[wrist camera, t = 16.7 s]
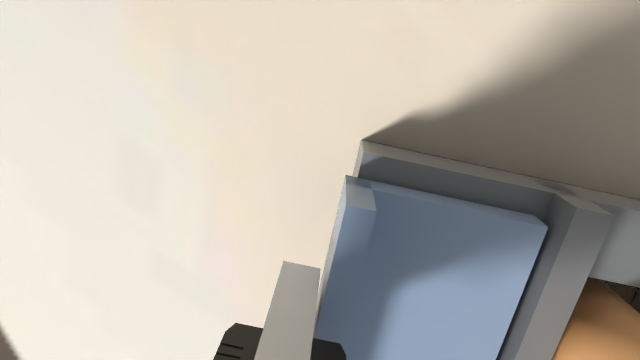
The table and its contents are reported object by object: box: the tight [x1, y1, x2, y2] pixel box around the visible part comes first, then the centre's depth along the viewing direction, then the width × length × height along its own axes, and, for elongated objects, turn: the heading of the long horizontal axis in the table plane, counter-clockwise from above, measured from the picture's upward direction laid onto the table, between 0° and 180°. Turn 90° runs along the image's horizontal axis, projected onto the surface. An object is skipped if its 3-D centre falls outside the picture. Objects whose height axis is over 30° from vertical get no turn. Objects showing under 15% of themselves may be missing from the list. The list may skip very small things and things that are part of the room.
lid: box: [313, 175, 548, 360], centre depth 16 cm, size 10×8×4 cm
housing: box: [353, 140, 640, 360], centre depth 19 cm, size 12×17×4 cm
